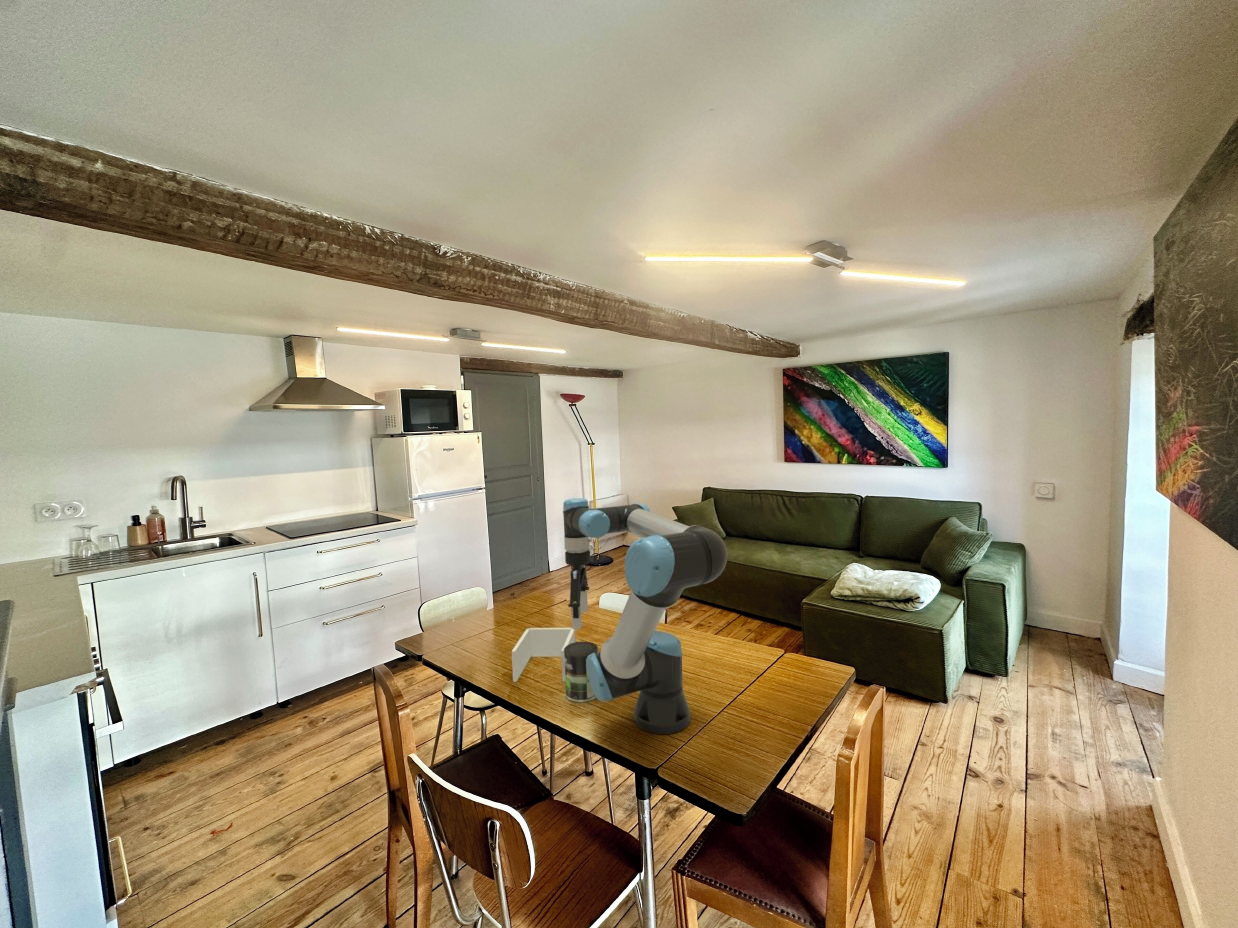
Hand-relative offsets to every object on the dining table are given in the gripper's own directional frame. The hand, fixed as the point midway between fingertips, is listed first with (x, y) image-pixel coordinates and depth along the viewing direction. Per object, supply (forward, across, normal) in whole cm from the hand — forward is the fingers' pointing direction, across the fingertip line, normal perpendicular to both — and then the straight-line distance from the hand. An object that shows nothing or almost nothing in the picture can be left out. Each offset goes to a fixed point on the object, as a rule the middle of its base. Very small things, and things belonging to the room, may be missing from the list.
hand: (580, 619), depth 147 cm
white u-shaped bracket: (+23, +16, +15) cm, 32 cm away
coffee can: (+23, 0, 0) cm, 23 cm away
